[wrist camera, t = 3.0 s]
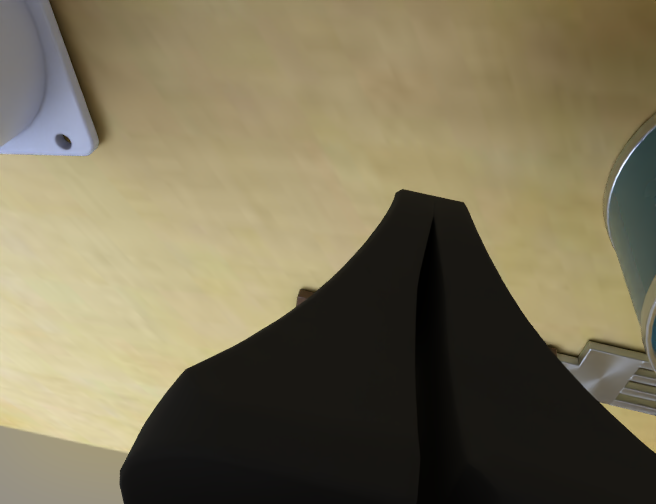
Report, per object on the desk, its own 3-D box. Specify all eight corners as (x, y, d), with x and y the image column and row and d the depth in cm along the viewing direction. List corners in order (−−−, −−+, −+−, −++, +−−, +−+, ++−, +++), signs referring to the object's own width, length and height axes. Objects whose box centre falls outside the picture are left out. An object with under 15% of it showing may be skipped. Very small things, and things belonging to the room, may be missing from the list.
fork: (295, 322, 21) (292, 330, 21) (301, 274, 20) (299, 282, 19) (696, 417, 20) (700, 426, 20) (737, 374, 19) (742, 383, 18)
